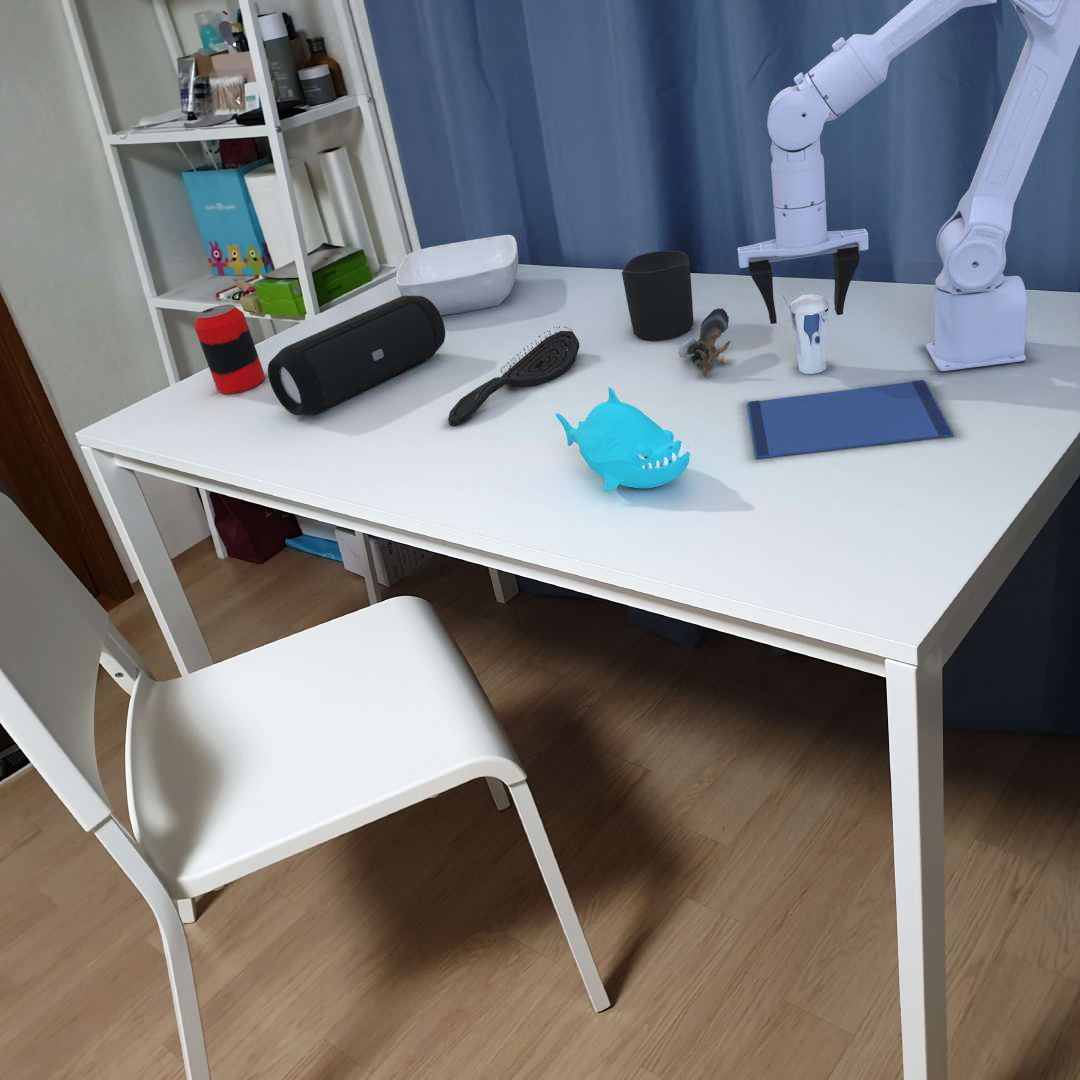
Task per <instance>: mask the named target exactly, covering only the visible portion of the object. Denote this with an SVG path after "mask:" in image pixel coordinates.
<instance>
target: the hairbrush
mask: <svg viewBox="0 0 1080 1080" xmlns="http://www.w3.org/2000/svg"><path fill="white" fill-rule="evenodd" d="M563 328H564V329H565V330H561V327H560V325H557V326H556V329H557V331H554V333H553V334H551V330H547V331H546V332H547V333H549V335H548V336H544V339H543V340H540V342H539V341H538V342H537V340H536V339H535V342H536V343H535V345H536V346H535V347H534V346H533V342H530V344H531V345H532V346H531V347H530V348H529V345H527V346H526V348H528V351H529V352H526V348H525V347H524V348H522V350H523V351H524V355H523V354H522V352H521V351H519V353H520V354H521V356H522V358H521V357H518V360H517V359H516V358H515V356H513V357H512V359H510V361H507V363H506V364H505V365H503V366H501V368H500V372H501V373H502V375H501V376H500V377H496V376H495V377H493V378H491V379H490V380H488V381H486V382H484V383H483V384H481V385H479V386H478V387H476V388H474V389H473V390H472V391H470V392H469V393H467V394H466V395H464V396H463V397H461V398H460V399H458V400H459V401H457V403H456V404H455V405H454V406H453V407H452V409H450V411H449V413H448V418H447V421H448V424H449V426H452V427H457V426H459V425H461V424H462V423H464V422H466V421H467V420H470V418H471V417H473V415H474V414H476V412H477V411H478V410H479V409H480V408H481V407H482V406H483V404H484V403H485V402H486V401H487V400H488V399H489V398H490V396H491V395H493V394H494V393H496V392H498V390H500V389H501V388H503V387H505V386H507V385H509V386H531V385H532V386H533V385H539V384H543V383H546V382H550V381H553V380H555V379H557V378H559V377H560V376H562V375H563V374H565V373H567V371H568V370H569V369H570V368H571V367H572V366H573V364H574V363H575V362H576V359H577V356H578V353H579V351H580V350H579V349H580V346H581V345H580V342H579V338H578V337H577V335H576V334H575V333H574V331H573V330H572V328H569V327H568V326H563ZM553 329H555V326H553ZM559 329H560V330H559ZM568 329H569V330H568ZM543 334H544V335H545V334H546V333H545V331H544V332H543ZM537 337H538V338H541V335H540V334H539V335H538V336H537ZM516 356H518V353H516ZM510 362H511V363H512V364H513V365H512V364H511V363H510ZM515 362H516V363H515ZM506 367H507V369H506ZM503 369H504V370H506V371H504V372H503Z"/></svg>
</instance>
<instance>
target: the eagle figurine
mask: <svg viewBox="0 0 1080 1080" xmlns="http://www.w3.org/2000/svg"><path fill="white" fill-rule="evenodd" d="M729 318H730V316H729V315H728V313H727V311H726V310H725V309H724V308H715V309H713V310H712V311H711V312H710V313H709V314H708V315H707V316H706V317H705V318H704V319H703V320H702V322H701V323H700V330H699V337H698V340H696V339H695V338H694V337H691V338H689V339H687V340H686V341H684V343H682V344H681V345H680V346H679V348H678V352H677V353H678V356H679V358H681V359H682V358H687V356H690V355H694V356H696V357H697V359H698V360H695V361H694V364H696V365H699V364H701V365H702V367H703V371H702V372H703V374H702V375H703V377H707V374H708V373H709V371H711V368H712V365H713V363H714V361H715V360H716V361H718V362H722V363H724V364H727V361H726V359H725V356H724V355H723V354H722V353H723V352H725V351H726V350H727V349H729V346H730V344H731V340H727V341H726V342H725V344H724V345H722V346H721V347H720V348H718V349H717V346H716V341H717V340H718V339H720V338H721V337H722V335H723V334H724V333H725V332H727V330H728V329H729V323H730V321H729V320H730V319H729Z"/></svg>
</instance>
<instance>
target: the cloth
mask: <svg viewBox="0 0 1080 1080" xmlns="http://www.w3.org/2000/svg"><path fill="white" fill-rule="evenodd" d="M746 404H747V405H746V406H747V411H748V416H749V417H748V418H749V426H750V431H751V438H752V444H753V451H754V456H755V457H754V458H755V460H757V459H758V460H759V459H766V458H776V457H785V456H793V455H801V454H802V455H803V454H810V453H819V452H827V451H835V450H845V449H853V448H854V449H855V448H862V447H863V448H864V447H871V446H880V445H887V444H895V443H905V442H914V441H922V440H930V439H940V438H948V437H950V438H951V437H954V433H953V431H952V429H951V427H950V425H949V423H948V421H947V420H946V417H945V415H944V414H943V412H942V410H941V407H940V406H939V404H938V402H937V400H936V399H935V397H934V395H933V393H932V391H931V389H930V387H929V385H928V383H927V382H926V380H925V379H921V380H912V381H909V382H900V383H892V384H885V385H876V386H868V387H861V388H852V389H846V390H845V389H844V390H836V391H829V392H821V393H813V394H805V395H797V396H789V397H781V398H772V399H766V400H765V399H764V400H751V401H748V402H747V403H746Z"/></svg>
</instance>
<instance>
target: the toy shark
mask: <svg viewBox="0 0 1080 1080" xmlns="http://www.w3.org/2000/svg"><path fill="white" fill-rule="evenodd" d="M607 387H608V388H607V389H608V398H607V400H606V401H603V402H601V403H599V404H597V405H595V406H594V408H592V409H591V410H590V412H589V413H588V414H587V415H586V417H585V419H584V420H583V421H582V420H581V421H578V425H577V427H576V428H574V427H573V426H572V425H571V424H570V423H569V422H568V420H567V419H566V417H564V416H563V415H562V414H561V413H559V412H555V417H556V418H557V420H559V423H560V425H562V427H563V429H564V433H565V434H566V440H567V444H566V445H567V446H568V447H571V446H572V445H573V443H575V444H576V445H578V450H579V453H580V455H581V457H582V458H583V460H584V462H585V463H586V464H587V465H588V467H589V468H590V469H591V471H593V472H594V473H595V474H596V475H598V476H599V477H601V478H602V479H603V480H604V481H605V482H604V483H605V484H604V488H603V492H609V491H612V490H614V489H615V488H617V487H618V486H623V487H626V488H627V487H628V488H632V489H633V488H635V489H652V488H657V487H661V486H663V485H666V484H668V483H670V482H672V481H674V480H676V479H677V478H679V477H680V476H681V475H682V474H683V473H684V472H685V470H687V468H688V466H689V464H690V458H691V457H690V456H691V454H690V452H689V451H688V450H687V446H686V445H685V444H683V442H682V441H681V440H679V439H675V441H674V438H675V435H674V433H673V431H671V430H670V429H663V428H662V427H661V426H659V424H658V423H656V422H655V421H654V420H652V419H651V418H650V417H649V416H647V415H646V414H645V413H644V412H642V411H641V410H640V409H639V408H638V407H637V406H635V405H632V404H629V403H627V402H623V401H620V399H619V397H617V394H616V392H615V390H613V388H611V387H610V386H607Z"/></svg>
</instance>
